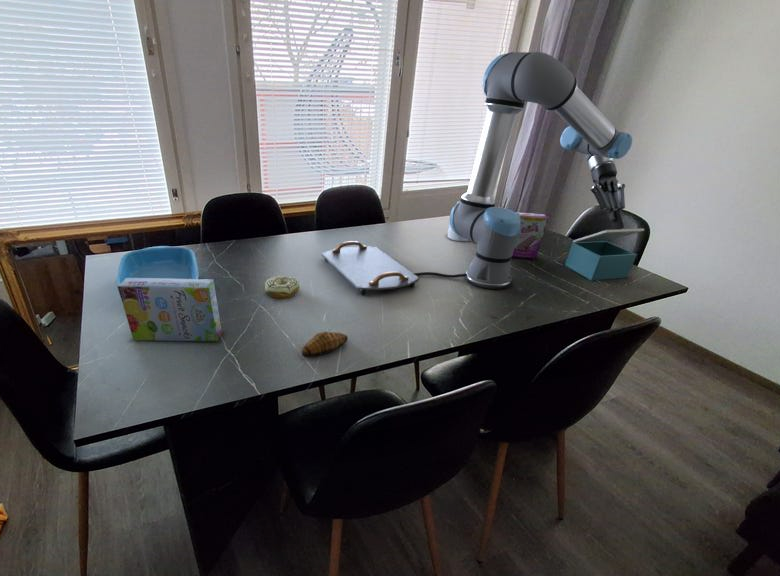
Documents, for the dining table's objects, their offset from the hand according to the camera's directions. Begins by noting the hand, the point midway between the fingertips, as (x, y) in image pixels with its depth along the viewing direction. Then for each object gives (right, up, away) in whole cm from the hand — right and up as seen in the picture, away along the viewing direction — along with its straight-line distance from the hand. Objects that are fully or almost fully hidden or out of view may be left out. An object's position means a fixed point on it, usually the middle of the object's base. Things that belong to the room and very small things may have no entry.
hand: (619, 229), depth 145 cm
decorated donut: (-115, -24, -13) cm, 118 cm away
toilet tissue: (-45, +8, +39) cm, 60 cm away
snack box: (-138, -40, -37) cm, 148 cm away
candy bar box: (-25, -4, +22) cm, 34 cm away
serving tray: (-88, -15, +2) cm, 89 cm away
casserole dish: (-152, -23, -14) cm, 155 cm away
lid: (-1, -1, +5) cm, 5 cm away
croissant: (-100, -43, -40) cm, 116 cm away
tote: (-2, -12, +12) cm, 17 cm away
